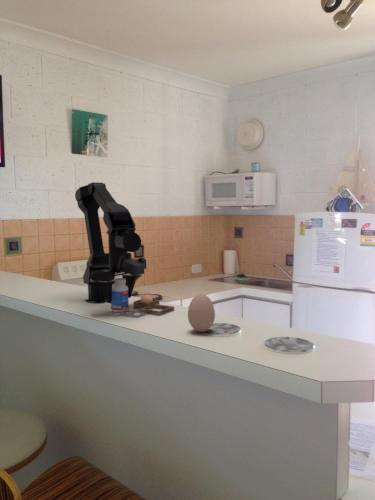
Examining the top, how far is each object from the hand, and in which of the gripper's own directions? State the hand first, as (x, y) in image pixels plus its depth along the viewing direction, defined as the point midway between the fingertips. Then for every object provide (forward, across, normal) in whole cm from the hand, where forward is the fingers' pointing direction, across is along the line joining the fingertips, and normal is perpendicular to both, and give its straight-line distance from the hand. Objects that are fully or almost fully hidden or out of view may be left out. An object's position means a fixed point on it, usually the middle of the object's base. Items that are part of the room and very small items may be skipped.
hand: (119, 300), depth 142 cm
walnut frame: (+3, +7, -5) cm, 9 cm away
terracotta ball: (+3, +7, -5) cm, 9 cm away
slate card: (+3, -2, -7) cm, 8 cm away
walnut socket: (+3, +4, -11) cm, 12 cm away
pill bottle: (+3, 0, 0) cm, 3 cm away
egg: (+3, -9, -34) cm, 35 cm away
